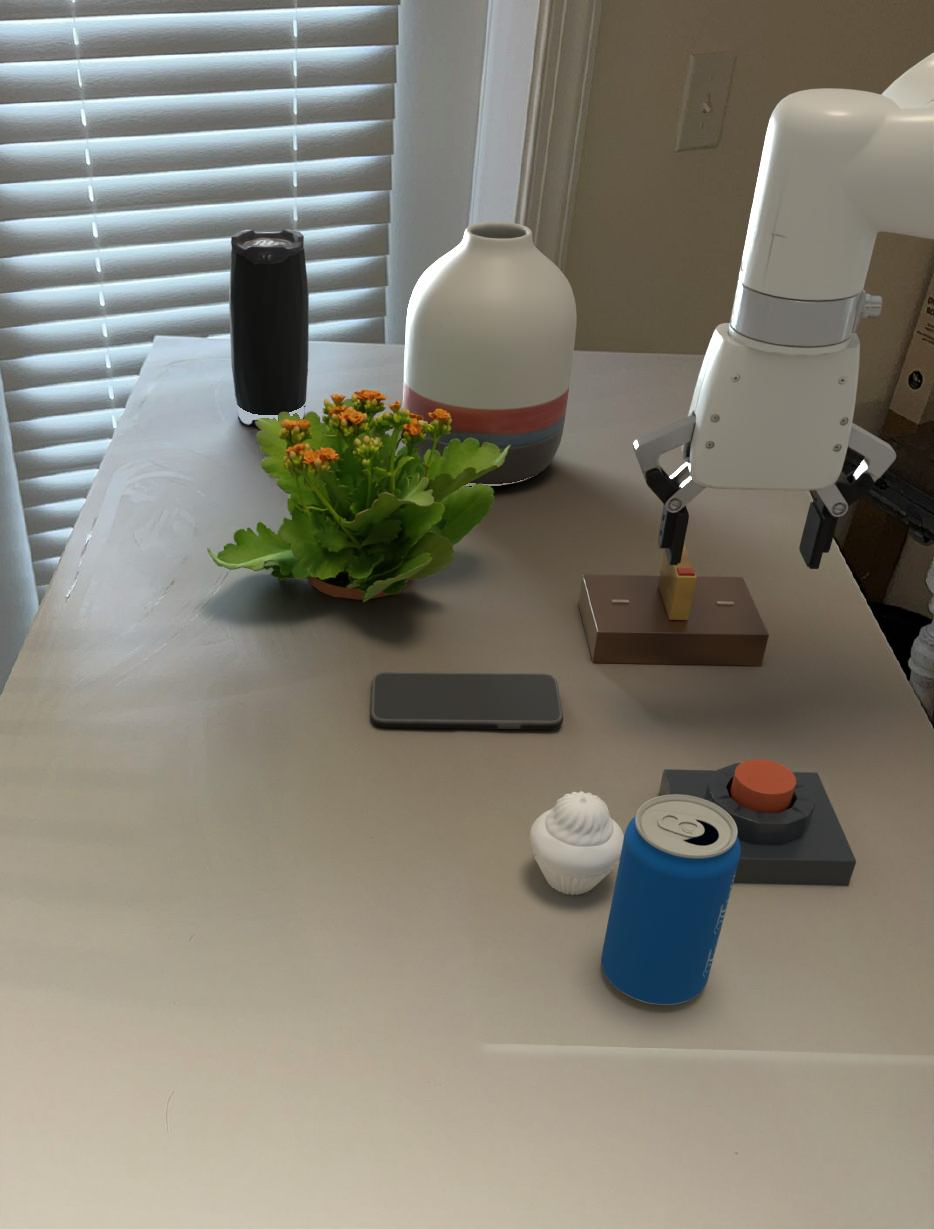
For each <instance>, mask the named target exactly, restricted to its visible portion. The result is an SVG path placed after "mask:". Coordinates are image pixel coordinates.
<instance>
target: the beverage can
mask: <svg viewBox="0 0 934 1229" xmlns="http://www.w3.org/2000/svg"><path fill="white" fill-rule="evenodd" d="M737 834H738V832H737V826H736V823H735V821H734V820H733V818H732V817H731V816H730V815H729V814H728V813H727V812H726V811H725V810H724V809H722V808H721V807H719V806H718V805H716V804H714V803H712V802H710V801H707V800H705V799H702V798H698V797H694V796H689V795H679V794H672V795H663V796H659V795H658V796H655V797H653V798H650V799H648V800H646V801H645V802H644V803H642V804H641V805H640V806H639V807H638V809H637V811H636V814H635V816H633V817H632V818H631V819H630V820H629V822H628V824H627V826H626V828H625V831H624V833H623V835H624V840H623V845H622V850H621V856H620V859H619V861H618V867H617V872H616V877H615V882H614V889H613V893H612V898H611V904H610V909H609V914H608V919H607V925H606V931H605V935H604V940H603V945H602V946H603V947H602V952H601V958H600V963H601V968H602V971H603V974H604V976H605V977H606V979H607V980H608V981H609V983H610V984H611V985H612V986H613V987H614V988H616V989H617V990H618V991H620V993H623V994H624V995H626V996H628V997H630V998H631V999H634V1000H636V1001H639V1002H642V1003H646V1004H650V1005H657V1006H658V1005H659V1006H672V1005H679V1004H682V1003H685V1002H688V1001H690V1000H693V999H695V998H696V997H697V996H699V995H700V994H701V993H702V992H703V990H704V989H705V988H706V986H707V984H708V981H709V978H710V973H711V970H712V965H713V962H714V957H715V953H716V951H717V947H718V943H719V938H720V934H721V932H722V931H721V930H722V927H723V923H724V920H725V916H726V912H727V909H728V908H727V907H728V905H729V901H730V897H731V892H732V889H733V885H734V883H733V881H734V878H735V874H736V870H737V866H738V862H739V859H740V854H741V847H740V843H739V839H738V837H737Z"/></svg>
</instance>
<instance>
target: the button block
mask: <svg viewBox="0 0 934 1229" xmlns="http://www.w3.org/2000/svg"><path fill="white" fill-rule="evenodd" d="M741 763H742V762H735V763H732V764H730V765H727V766H724V767H721V768H718V769H715V770H714V769H713V770H712V769H711V770H710V769H709V770H708V769H671V768H669V769H668V768H667V769H665V768H664V769H663V770H662V776H661V781H660V785H659V790H658V796H663V795H672V794H679V795H689V796H694V797H698V798H702V799H705V800H707V801H710V802H712V803H714V804H716V805H718V806H719V807H721V808H722V809H724V810H725V811H726V812H727V813H728V814H729V815H730V816H731V817H732V818H733V820H734V821H735V823H736V826H737V832H738V834H737V837H738V839H739V843H740V847H741V854H740V859H739V862H738V866H737V870H736V874H735V878H734V881H733V884H755V885H756V884H759V885H760V884H761V885H797V886H800V885H803V886H841V887H842V886H843V887H844V886H846V887H848V886H849V885H850V882H851V879H852V876H853V873H854V870H855V867H856V864H857V859H856V857H855V855H854V852H853V850H852V848H851V845H850V844H849V841H848V838H847V836H846V834H845V832H844V830H843V827H842V825H841V823H840V821H839V818H838V815H837V813H836V812H835V809H834V807H833V804H832V803H831V800H830V797H829V796H828V793H827V791H826V788H825V787H824V784H823V782H822V779H821V777H820V775H819V773H818V772H816V771H815V772H813V771H810V772H807V771H804V772H803V771H792V772H793V774H794V775H795V778H796V786H795V789H794V793H793V796H792V800H791V803H790V806H789V807H788V808H787V809H786V810H784V811H782V812H779V813H760V812H756V811H753V810H750V809H747V808H744V807H742V806H740V805H739V804H738V803H737V802H735V801H734V800H733V799H732V797H731V794H730V790H731V786H732V782H733V777H734V773H735V769H736V767H737V766H738V765H739V764H741Z"/></svg>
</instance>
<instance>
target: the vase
mask: <svg viewBox="0 0 934 1229" xmlns="http://www.w3.org/2000/svg"><path fill="white" fill-rule="evenodd" d="M406 313H407V314H406V321H405V322H406V323H405V339H404V340H405V341H404V358H403V359H404V361H403V384H402V385H403V386H402V387H403V388H402V409H403V408H406V410H409V413H413V414H417V415H421V416H422V417H423V418H424V419H423V421H427V422H428V424H430V423H431V422H432V421H434V419H433V418H431V417H429V415H428V413H429V412H430V413H433V412H435V410H436V409H443V411H447V412H446V413H450V416H451V419H452V422H451V423H450V428H451V430H450V431H449V432H450V434H444V435H442V437H441V438H440V439H439V440H438V441H437V443H436V446H435V449H434V450H437V451H438V452H439V453H440V455H441V457H442V456H443V451H444V449H445V447H446V446H447V447H448V444H449V442H450V441H451V440H452V439H459V440H460V442H461V444H462V443H463V442H464V440H465V439H467V438H474V439H477V440H478V441H479V447H481V446H482V444H484V443H485V442H488V443H492V444H495V445H496V446H497V447H498V448H499V450H500V449H502V452H503V451H504V450H505V448H506V447H507V446H508V445H511V446H510V448H509V449H508V453H507V455H506V457H505V459H504V463H503V465H502V466H500V467H498V468H496V469H494V470H492V471H490V472H488V473H486V474H484V475H482V476H480V477H479V478H477V479H475V480H473V481H471V482H469V483H476V484H480V483H481V484H503V483H512V482H517V481H520V480H524V479H526V478H529V477H532V476H534V477H536V476H537V475H536V474H538V473H539V472H541V471H542V470H543V471H545V470H546V469H547V467H548V466H549V465H550V464H551V463H552V461H553V459H554V457H555V455H556V454H557V453H558V450H559V448H560V445H561V441H562V438H563V433H564V428H565V420H566V415H567V406H568V399H569V392H570V384H571V376H572V369H573V368H572V367H573V360H574V352H575V343H576V335H577V323H578V320H577V319H578V313H577V304H576V299H575V295H574V292H573V288H572V286H571V283H570V282H569V280H568V278H567V277H566V275H565V274H564V273H563V272H562V270H561V269H560V268H559V267H558V266H557V265H556V264H555V263H554V262H553V261H552V260H550V259H549V258H548V257H547V256H546V255H545V254H544V253H542V252H541V251H540V250H539V249H538V248H537V247H536V245H535V244H534V240H533V231H532V230H531V228H529V227H528V226H526V225H523V224H519V223H516V222H515V223H514V222H509V221H483V222H477V223H474V224H471V225H469V226H467V227H466V228H465V231H464V234H463V238H462V240H461V242H460V243H459V244H458V245H457V246H455V247H454V248H453V249H452V250H450V251H448V252H447V253H446V254H444V255H443V256H441V257H439V258H438V259H437V260H436V261H435V262H434V263H432V264H431V265H430V266H429V267H428V268H427V269H425V271H424V272H423V273H422V275H421V276H420V277H419V279H418V281H417V282H416V284H415V286H414V288H413V290H412V294H411V297H410V299H409V303H408V307H407V312H406ZM425 433H426V432H424V433H423V434H425ZM429 435H430V433H426V437H425V439H426V440H424V441H422V442H420V443H417V444H416V445H415V446H414V449H416V448H417V447H419V450H418V451H417V452H418V455H419V457H420V458H421V464H422V462H423V461H422V460H423V457H424V455H425V453H426V451H427V450H428V449H430V450H431V449H432V446H433V443H434V441H433V440H431V438H430V437H429ZM438 435H439V433H438ZM435 436H436V435H435ZM437 438H438V437H437ZM405 446H407V445H406V444H405ZM502 452H501V453H502ZM543 471H542V472H543ZM542 472H541V473H542ZM539 474H540V473H539ZM539 474H538V475H539ZM535 475H536V476H535Z"/></svg>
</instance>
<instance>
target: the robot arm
mask: <svg viewBox="0 0 934 1229" xmlns="http://www.w3.org/2000/svg"><path fill="white" fill-rule="evenodd" d="M752 200H753V201H752V205H751V210H750V215H749V221H748V226H747V231H746V236H745V242H744V247H743V252H742V258H741V263H740V268H739V274H738V278H737V284H736V288H735V294H734V299H733V300H734V301H733V304H732V310H731V315H730V322H722V323H720V324H718V325H717V326H716V327H715V329H714V331H713V333H712V337H711V338H710V341H709V343H708V345H707V346H708V347H707V349H706V352H705V354H704V358H703V360H702V364H701V367H700V369H699V373H698V377H697V381H696V384H695V387H694V391H693V395H692V399H691V403H690V406H689V409H688V410H689V411H688V414H687V416H686V417H684V418H682V419H679V420H677V421H674V422H672V423H670V424H668V425H665V426H664V427H661V428H659V429H656V430H654V431H652V432H649V433H647V434H645V435H643V436H641V437H639V438H636V439H635V440H634V442H633V444H632V447H633V451H634V454H635V457H636V460H637V462H638V465H639V467H640V471H641V473H642V475H643V477H644V481H645V484H646V485H647V487H648V488H649V489H650V490H651V491H652V492H653V494H654V495H655V496H656V497H657V498H658V499H659V500H660V502H662V504H663V506H662V512H661V517H660V523H659V528H658V534H657V545H658V548H659V549H665V553H666V556H667V559H668V562H669V565H677V564H678V563H680V562H681V557H682V552H683V547H684V545H685V541H686V536H687V530H688V525H689V520H690V514H689V510H688V507H687V505H688V504H689V503H690V502H692V501H693V500H694V499H695V498H696V497H698V496H699V494H700V493H702V492H703V491H704V490H705V489H716V490H717V489H718V490H744V491H745V490H746V491H747V490H748V491H784V492H785V491H786V492H787V491H788V492H790V491H791V492H806V491H807V492H808V491H809V492H810V491H815V492H816V493H817V498H816V497H813V499H812V501H811V502H809V507H808V510H807V515H806V519H805V523H804V527H803V530H802V535H801V538H800V543H799V548H798V551H799V553H800V555H801V557H802V559H803V562H804V563H805V565H806V567H807V568H809V570H819V569H820V566H821V562H822V559H823V554H828V553H829V552H830V550H831V547H832V543H833V540H834V537H835V532H836V528H837V526H838V525H837V524H838V520H839V517H842V516H843V517H844V515H846V514H847V512H848V510H849V507H850V506H851V505H853V504H855V503H856V502H857V501H859V500H861V498H863V497H864V496H866V494H868V493H869V492H871V491H872V490H873V488H874V487H875V483H876V482H877V481H878V479H880V478H881V477H882V476H883V475H884V474H885V473H886V471H888V469H889V468H890V466H892V465H893V463H894V462H895V460H896V459H897V453H896V451H895V450H894V449H893V447H892V445H890V444H889V443H888V442H886V441H884V440H882V438H880V437H878V436H876V435H874V434H873V433H871V432H869V431H868V430H866V429H864V428H862V427H861V426H860V425H857V424H855V422H853V420H854V414H855V407H856V400H857V392H858V384H859V370H860V354H861V353H860V352H861V348H860V347H861V340H860V338H859V337H858V336H859V335H858V334H857V329H858V326H859V325H860V323H861V321H866V320H867V319H877V318H879V317H880V315H881V313H882V308H883V297H882V295H879V294H878V295H877V294H876V295H874V294H872V295H871V293H869V292H866V290H865V289H864V287H865V283H866V281H867V280H866V279H867V275H868V271H869V269H870V268H869V267H870V263H871V259H872V256H873V253H874V252H873V251H874V249H875V248H874V247H875V244H876V240H877V235H878V233H882V232H883V233H890V234H898V235H904V236H911V237H917V238H922V239H927V240H934V52H932V53H930V54H929V55H927V56H926V57H925V58H923V59H922V60H921V61H918V63H916V64H915V65H913V66H911V67H910V68H909V69H907V70H906V71H905V72H904V73H902V74H901V75H900V76H899V77H898V78H896V79H895V80H894V81H893V82H892V83H891V84H890V85H889V86H887V88H886V89H884V91H883V92H882V93H881V94H879V93H876V92H871V91H868V90H867V91H866V90H859V89H852V88H810V89H804V90H799V91H795V92H793V93H789V94H788V95H786V96H785V97H783V98H782V99H781V100H780V101H779V102H778V103H777V104H776V106H775V107H774V109H773V111H772V112H771V115H770V117H769V120H768V125H767V128H766V133H765V136H764V142H763V148H762V152H761V159H760V164H759V170H758V175H757V180H756V185H755V189H754V195H753V199H752ZM679 447H681V457H682V460H684V461H686V462H685V463H683V464H682V465H681V466H680V467H679V468H678V469H677V470H676V471H674V472H673V473H672V474H671V475H670V476H669V474H668V473H667V472H666V470H664V469H663V467H662V466H661V465H660V463H659V458H660V457H661V455H663V454H665V453H667V452H670V451H672V450H675V449H677V448H679ZM848 448H849V449H851V450H853V451H854V452H856V453H858V454H859V455H861V456H863V457H864V458H863V460H862V461H861V462H860V465H859V466H858V467H856V468H854V469H853V470H851V471H850V472H849V473H847V474H845V476H843V477H842V478H840V479H839V477H840V475H841V473H842V470H843V467H844V463H845V460H846V456H847V451H848Z"/></svg>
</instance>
